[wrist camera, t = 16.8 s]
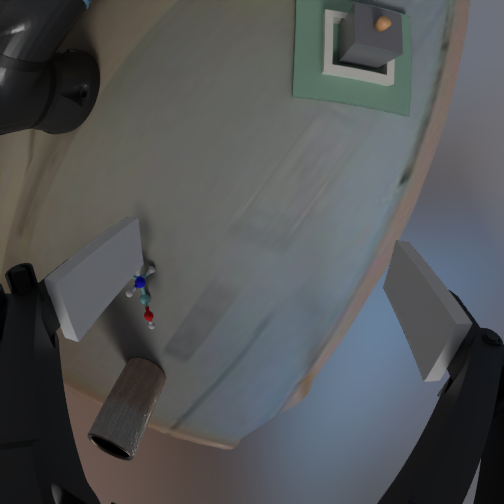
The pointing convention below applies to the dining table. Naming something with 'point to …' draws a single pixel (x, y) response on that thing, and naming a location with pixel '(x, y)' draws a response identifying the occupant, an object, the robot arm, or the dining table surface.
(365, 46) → the plug
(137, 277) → the molecular model
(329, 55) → the board
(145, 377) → the planter
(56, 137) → the dining table surface
